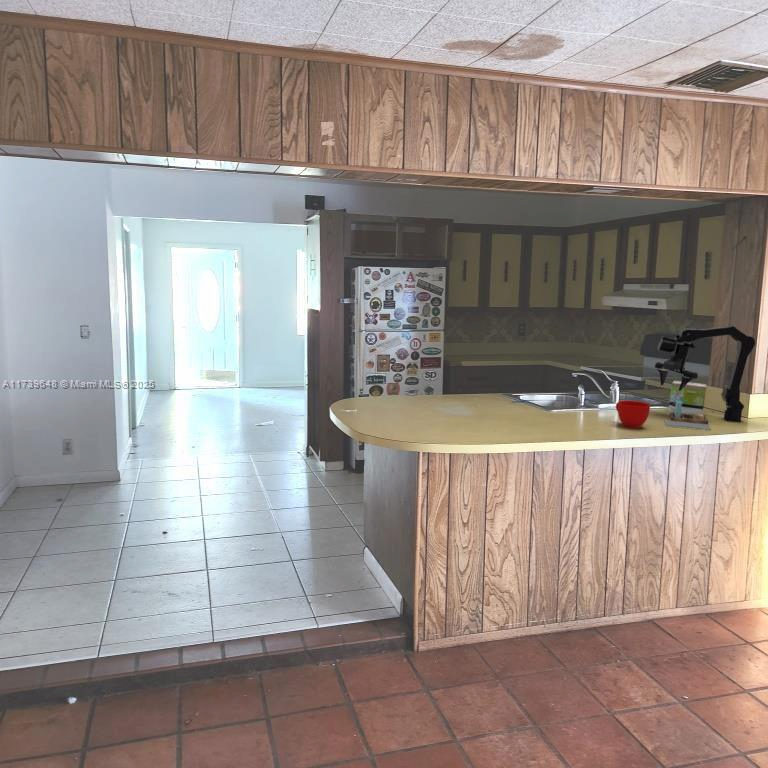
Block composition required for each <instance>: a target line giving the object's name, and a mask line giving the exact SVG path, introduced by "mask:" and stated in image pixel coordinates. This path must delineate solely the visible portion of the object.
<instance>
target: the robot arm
mask: <svg viewBox="0 0 768 768" xmlns="http://www.w3.org/2000/svg"><path fill="white" fill-rule="evenodd" d="M723 336H729V337H731V338H732V339H733V340H734V341H735V342H736V358H735V361H734V364H733V368H732V371H731V376H730V380H729V382H728V385H727V386H725V387H724V386H722V392H721V394H720V396H721V401H723V403H725V409H724V411H723V418H722V419H723V420H724V421H726V422H733V423H736V422H737V423H742V414H743V410H744V408H745V405H744V404H743V403H742V402H741V401H740V397H741V391H740V388H741V383H742V378H743V375H744V372H745V368H746V363H747V360H748V358H749V355H750V354H751V353H752V351H753V350H754V348H755V345H756V339H755V338H754V337H753V336H750V335H746V334H745V333H743V332H742V331H741V330H739V329H738V328H736V327H735V326H733V325H728V326H718V327H710V328H701V329H698V328H682V329H681V330H680V331H679V333H678V334H677V335H676V336H674V337H673V338H672V337H671V338H670V337H667V336H663V335H662V336H661V339H660V341H659V342H658V345H657V351H658V352H664V353H668V354H671V353H673V352H674V353H673V355H671V357H670V359H667V360H665V361H663V362H660V361H657V362H656V363H655V364H654V368H655V369H656V370H657V371H658V373H659V376H660V377H659V378H660V385H661V386H664V384H665V381H666V378H667V376H668V373H669V371H670V372H675V373H677V374H680V375H681V374H682V375H683V376H681V380H680V381H681V384H680V387H679V391H681V390H682V389H683V388H684V387H685V385H686V384H687V383H688V382H691V381H692V380H693V381H694V379H698V376H699V375H698V372H696V371H692V370H689V369H686V367H685V366H686V362H688V360H689V359H688V356H689V352H690V348H691V349H696V346H695V345H694V343H693V342H694V341H697V340H700V339H703V338H712V337H723Z"/></svg>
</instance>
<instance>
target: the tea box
mask: <svg viewBox="0 0 768 768" xmlns="http://www.w3.org/2000/svg"><path fill="white" fill-rule="evenodd" d="M681 381H682V380H673V382H671V388H670V396H669V403H668V412H669V413H675V405H676V400H681V402H682V406H681V414H688V415H694V413H701V414H703V413H704V407H705V402H706V393H707V385H708V384H707V383H700V382H699V383H697V382H691V381H689V382H688V383H687V384H686V385H685V387H684V388H683V389H682V390H681V391H679V387H680V384H681Z"/></svg>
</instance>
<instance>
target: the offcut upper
mask: <svg viewBox="0 0 768 768" xmlns="http://www.w3.org/2000/svg"><path fill="white" fill-rule="evenodd" d="M704 416H705V415H704V414H703V413H702V414H701V413H694V418H695V419H703V417H704Z"/></svg>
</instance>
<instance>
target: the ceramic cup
mask: <svg viewBox="0 0 768 768" xmlns="http://www.w3.org/2000/svg"><path fill="white" fill-rule="evenodd" d="M615 409H616V411H617V415H618V419H619V420H620V423H621V424H622V425H623V427H626V428H631V429H640V428H641V427H642V426H643V425H644V424H645V423H646V422H647V419H648V418H649V414H650V410H651V405H650V404H649V403H646V402H643V401H639V400H638V401H635V400H619V401H618V402H617V403H616V405H615Z"/></svg>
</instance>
